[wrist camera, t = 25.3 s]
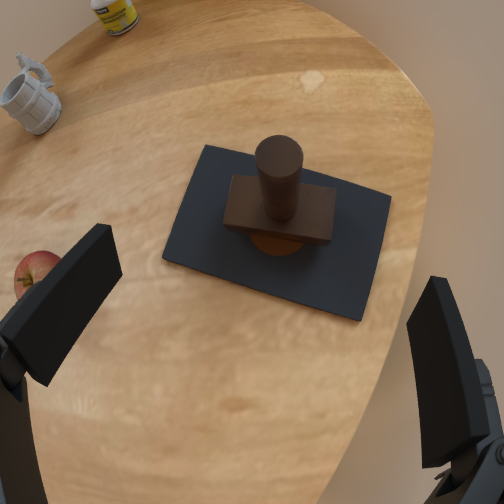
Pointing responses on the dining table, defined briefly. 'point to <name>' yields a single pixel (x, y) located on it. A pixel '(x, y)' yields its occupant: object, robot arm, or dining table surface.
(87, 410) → the dining table surface
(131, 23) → the pill bottle
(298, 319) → the dining table surface
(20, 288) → the apple
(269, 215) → the scrub brush
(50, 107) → the mug
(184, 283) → the dining table surface
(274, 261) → the stain mat
